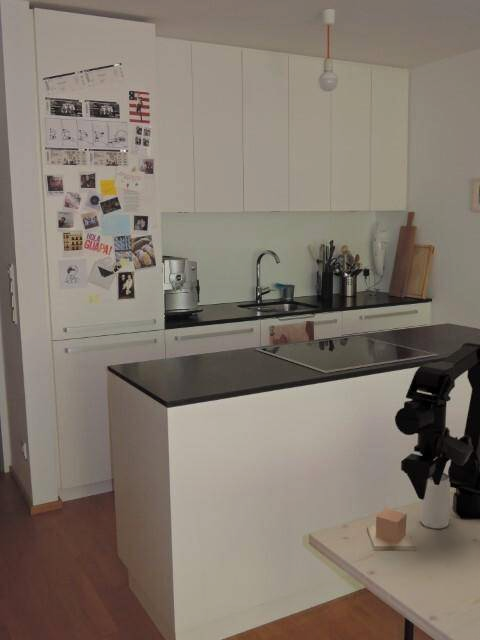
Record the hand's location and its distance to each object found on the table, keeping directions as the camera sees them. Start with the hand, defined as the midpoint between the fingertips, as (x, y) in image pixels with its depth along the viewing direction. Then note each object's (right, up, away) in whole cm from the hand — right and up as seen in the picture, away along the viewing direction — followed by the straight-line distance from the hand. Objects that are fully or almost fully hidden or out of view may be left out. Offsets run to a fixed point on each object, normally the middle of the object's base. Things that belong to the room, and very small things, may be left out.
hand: (429, 491), depth 143 cm
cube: (-8, -11, +3) cm, 14 cm away
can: (+4, -11, +11) cm, 16 cm away
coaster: (-8, -12, +3) cm, 14 cm away
